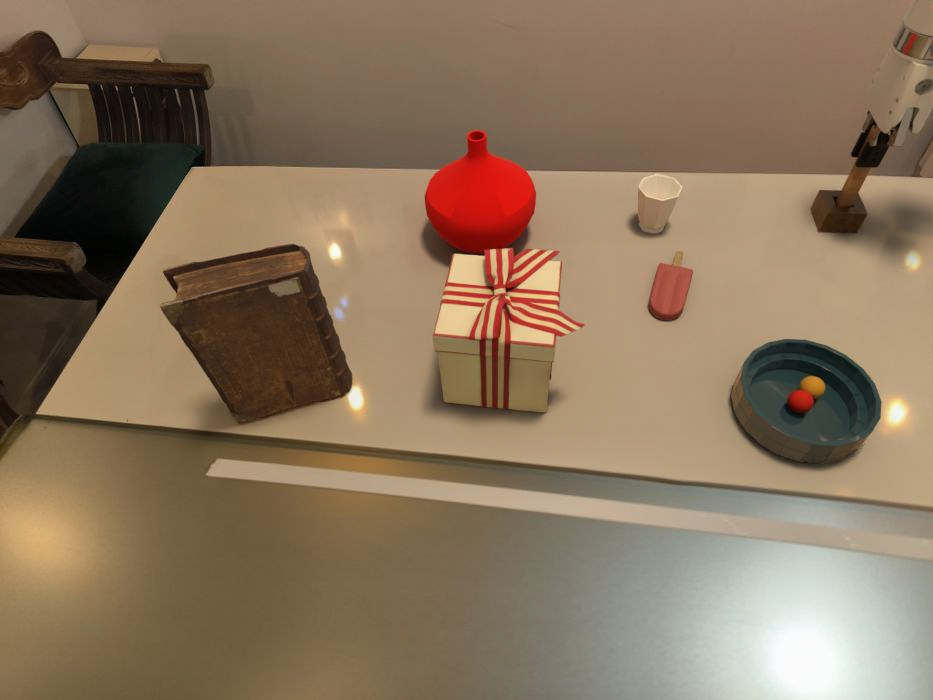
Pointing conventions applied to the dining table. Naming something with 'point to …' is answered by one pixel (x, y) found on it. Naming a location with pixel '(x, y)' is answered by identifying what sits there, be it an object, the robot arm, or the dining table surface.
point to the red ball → (800, 401)
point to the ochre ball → (813, 386)
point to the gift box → (500, 328)
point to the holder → (837, 213)
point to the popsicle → (670, 289)
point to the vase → (480, 199)
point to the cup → (656, 201)
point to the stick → (854, 179)
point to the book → (259, 330)
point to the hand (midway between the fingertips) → (864, 160)
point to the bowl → (833, 414)
